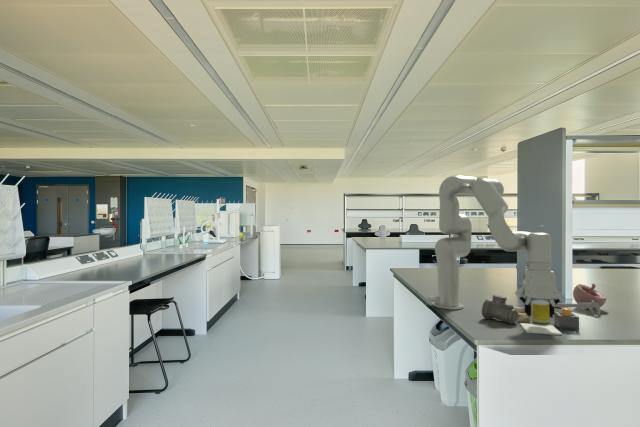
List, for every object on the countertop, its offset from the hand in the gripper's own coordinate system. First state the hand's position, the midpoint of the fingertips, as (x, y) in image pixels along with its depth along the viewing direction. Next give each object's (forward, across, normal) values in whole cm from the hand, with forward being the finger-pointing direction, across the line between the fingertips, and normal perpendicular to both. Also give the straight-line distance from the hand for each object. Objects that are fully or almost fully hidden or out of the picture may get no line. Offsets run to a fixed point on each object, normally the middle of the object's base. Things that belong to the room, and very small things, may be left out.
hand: (539, 315), depth 133 cm
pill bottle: (+3, 0, 0) cm, 3 cm away
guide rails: (+5, 0, +15) cm, 16 cm away
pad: (+5, 0, 0) cm, 5 cm away
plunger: (+3, +10, +5) cm, 12 cm away
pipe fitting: (+5, -12, +8) cm, 15 cm away
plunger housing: (+5, +10, +5) cm, 12 cm away
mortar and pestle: (+5, +30, +40) cm, 50 cm away
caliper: (+6, +22, +35) cm, 42 cm away
